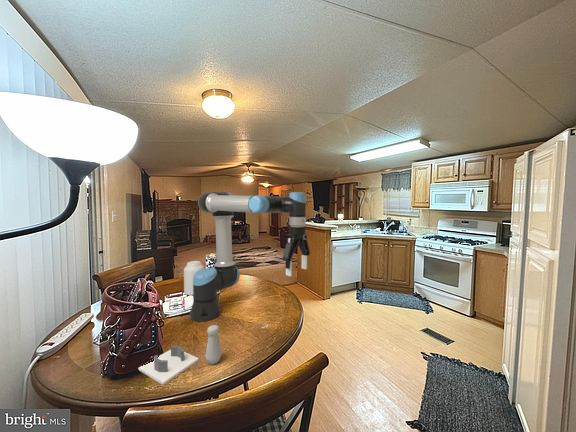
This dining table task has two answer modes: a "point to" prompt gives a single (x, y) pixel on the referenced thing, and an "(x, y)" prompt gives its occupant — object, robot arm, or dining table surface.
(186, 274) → the can
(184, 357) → the square base with blocks
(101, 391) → the dining table surface
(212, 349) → the salt shaker
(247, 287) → the dining table surface
